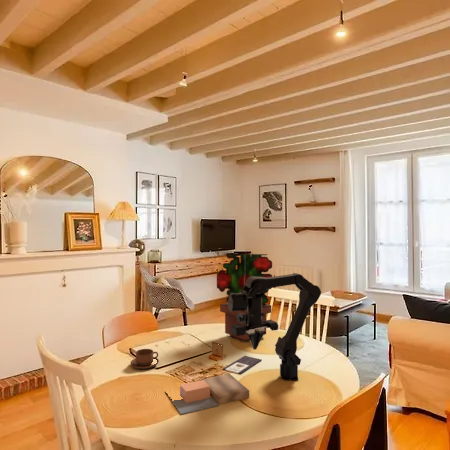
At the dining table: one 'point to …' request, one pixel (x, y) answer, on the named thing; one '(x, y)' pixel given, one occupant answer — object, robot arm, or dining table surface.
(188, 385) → the salmon pink block
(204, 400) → the slate mat
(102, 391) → the dining table surface
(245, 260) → the potted plant
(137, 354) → the cup and saucer
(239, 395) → the block
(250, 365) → the chocolate bar
